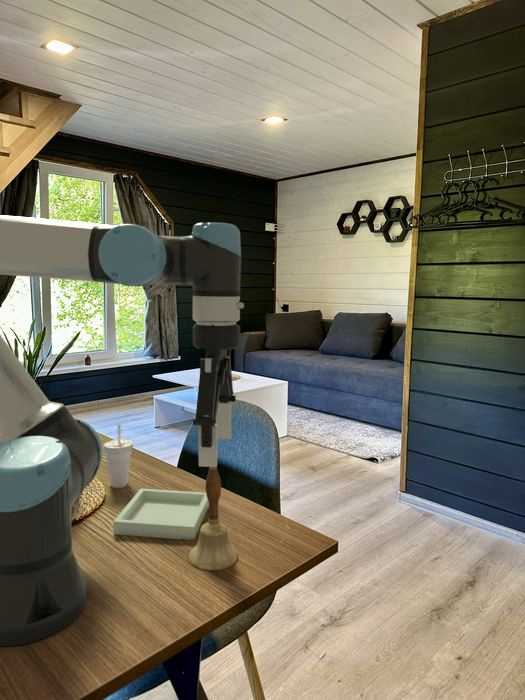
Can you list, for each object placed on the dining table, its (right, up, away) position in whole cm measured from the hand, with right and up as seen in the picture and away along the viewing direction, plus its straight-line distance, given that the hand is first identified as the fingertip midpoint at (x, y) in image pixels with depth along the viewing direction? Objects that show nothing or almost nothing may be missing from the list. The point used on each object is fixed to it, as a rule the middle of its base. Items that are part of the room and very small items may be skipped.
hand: (216, 451), depth 84 cm
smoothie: (-25, -14, +32) cm, 43 cm away
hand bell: (-1, -19, +3) cm, 19 cm away
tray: (-11, -16, +16) cm, 25 cm away
